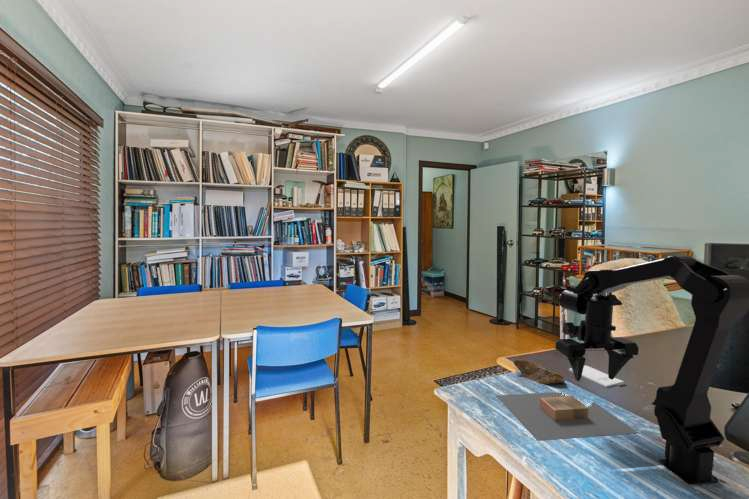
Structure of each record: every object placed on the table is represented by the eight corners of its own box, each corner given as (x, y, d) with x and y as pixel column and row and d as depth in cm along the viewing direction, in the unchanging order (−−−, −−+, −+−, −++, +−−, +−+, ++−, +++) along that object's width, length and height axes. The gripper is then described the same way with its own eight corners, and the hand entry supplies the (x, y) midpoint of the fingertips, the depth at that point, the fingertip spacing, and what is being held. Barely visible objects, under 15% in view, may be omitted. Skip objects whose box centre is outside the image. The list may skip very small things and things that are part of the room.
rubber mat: (639, 434, 81) (639, 433, 81) (537, 442, 78) (537, 440, 78) (578, 392, 101) (578, 390, 101) (495, 396, 98) (495, 395, 98)
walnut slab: (588, 408, 87) (554, 410, 86) (587, 417, 87) (554, 420, 86) (572, 395, 93) (540, 397, 92) (571, 405, 93) (539, 407, 92)
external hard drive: (586, 369, 118) (624, 386, 106) (568, 373, 115) (605, 390, 103) (586, 365, 118) (624, 380, 106) (568, 368, 115) (606, 385, 103)
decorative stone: (524, 351, 118) (572, 371, 108) (522, 363, 119) (569, 384, 108) (510, 358, 112) (559, 380, 101) (508, 371, 113) (556, 394, 102)
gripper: (607, 310, 98) (603, 365, 99) (544, 311, 95) (541, 367, 97) (642, 322, 87) (637, 383, 88) (572, 324, 84) (568, 387, 86)
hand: (594, 379), depth 90 cm, fingers open, 9 cm apart
